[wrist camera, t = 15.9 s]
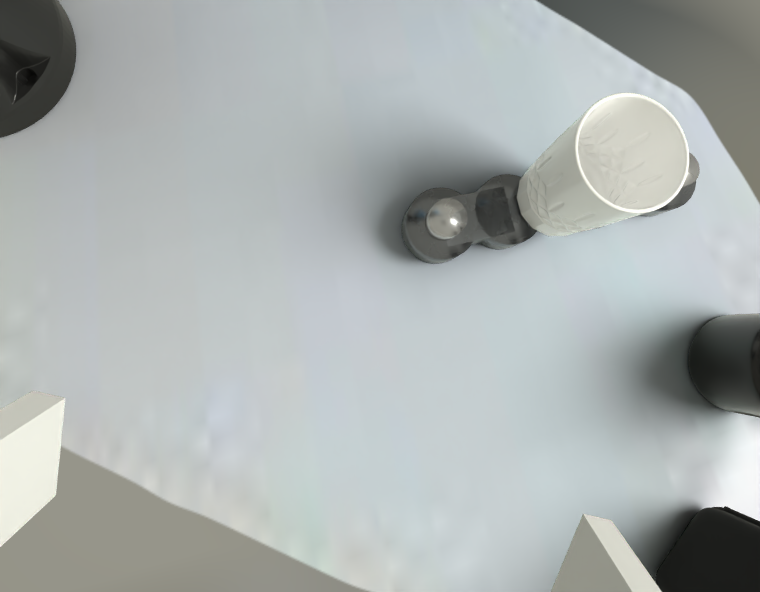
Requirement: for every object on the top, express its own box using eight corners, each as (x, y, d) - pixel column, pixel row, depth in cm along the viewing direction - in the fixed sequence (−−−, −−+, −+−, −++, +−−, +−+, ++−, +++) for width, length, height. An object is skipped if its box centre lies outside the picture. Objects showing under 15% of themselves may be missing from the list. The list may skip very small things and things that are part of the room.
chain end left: (394, 203, 39) (403, 187, 34) (520, 178, 40) (544, 159, 36) (410, 270, 39) (421, 262, 34) (536, 241, 40) (563, 230, 36)
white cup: (593, 155, 39) (685, 94, 29) (599, 244, 38) (694, 213, 28) (507, 152, 38) (571, 89, 28) (511, 244, 37) (578, 212, 27)
